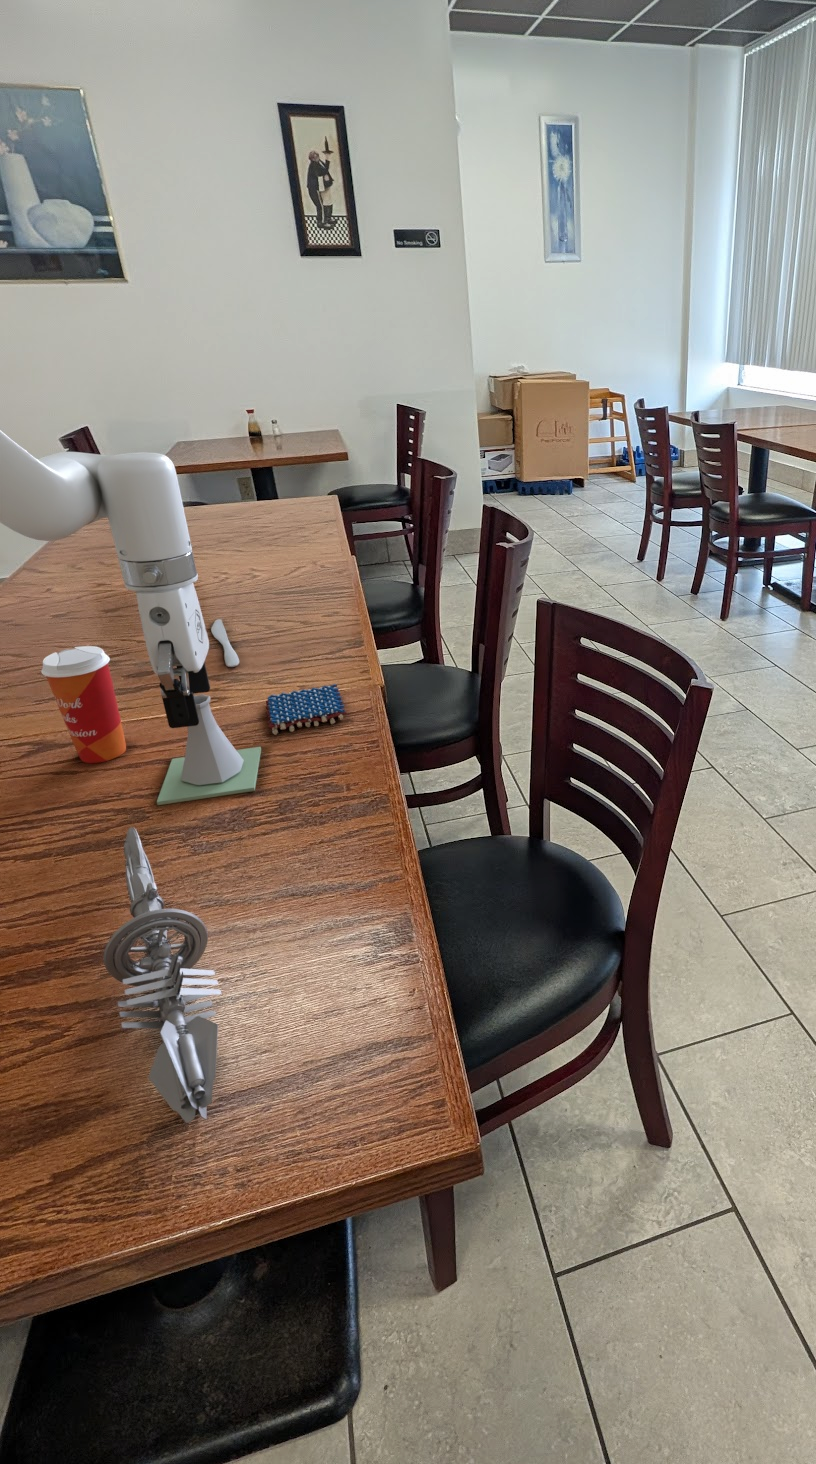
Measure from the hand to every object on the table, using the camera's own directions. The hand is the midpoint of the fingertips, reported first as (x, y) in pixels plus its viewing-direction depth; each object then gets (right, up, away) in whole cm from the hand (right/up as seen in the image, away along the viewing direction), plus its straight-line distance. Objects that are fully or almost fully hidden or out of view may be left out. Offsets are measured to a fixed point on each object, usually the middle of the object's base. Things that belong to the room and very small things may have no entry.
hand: (191, 708), depth 99 cm
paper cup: (-17, -6, +11) cm, 21 cm away
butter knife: (-16, +12, +47) cm, 51 cm away
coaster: (+1, -8, +4) cm, 10 cm away
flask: (+1, -8, +4) cm, 9 cm away
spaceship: (+11, -24, -28) cm, 38 cm away
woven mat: (+8, -1, +20) cm, 21 cm away
